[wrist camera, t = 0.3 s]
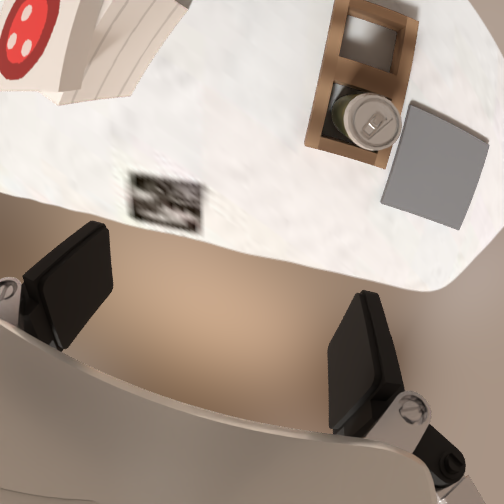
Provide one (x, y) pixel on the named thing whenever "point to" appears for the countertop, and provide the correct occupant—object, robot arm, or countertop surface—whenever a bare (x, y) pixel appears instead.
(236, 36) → the countertop surface
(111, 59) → the pizza boxes
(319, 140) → the can holder
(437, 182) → the rubber mat
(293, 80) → the countertop surface
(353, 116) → the beer can
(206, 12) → the countertop surface
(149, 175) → the countertop surface
